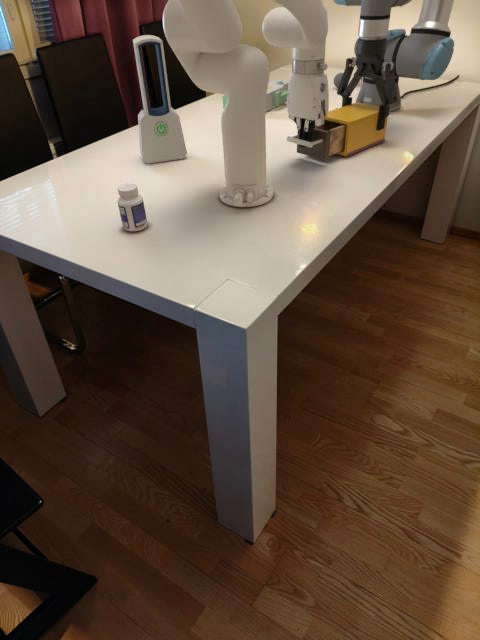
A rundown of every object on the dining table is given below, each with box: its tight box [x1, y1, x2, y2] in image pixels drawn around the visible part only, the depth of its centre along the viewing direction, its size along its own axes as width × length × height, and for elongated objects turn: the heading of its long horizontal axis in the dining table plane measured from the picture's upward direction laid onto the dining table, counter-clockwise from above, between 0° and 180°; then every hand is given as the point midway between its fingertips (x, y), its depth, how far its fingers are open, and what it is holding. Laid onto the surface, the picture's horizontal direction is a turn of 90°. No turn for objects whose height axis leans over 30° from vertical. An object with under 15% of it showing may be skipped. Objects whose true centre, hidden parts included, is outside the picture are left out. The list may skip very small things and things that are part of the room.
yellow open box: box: [324, 102, 389, 157], centre depth 136 cm, size 18×11×9 cm, turn 134°
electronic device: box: [132, 34, 188, 165], centre depth 130 cm, size 12×8×30 cm, turn 105°
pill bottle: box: [117, 182, 148, 232], centre depth 102 cm, size 5×5×9 cm
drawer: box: [286, 120, 347, 161], centre depth 130 cm, size 22×10×7 cm, turn 134°
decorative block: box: [221, 80, 289, 113], centre depth 175 cm, size 26×6×20 cm
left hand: (305, 145), depth 126 cm, fingers closed
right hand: (362, 125), depth 139 cm, fingers closed on yellow open box, 11 cm apart
